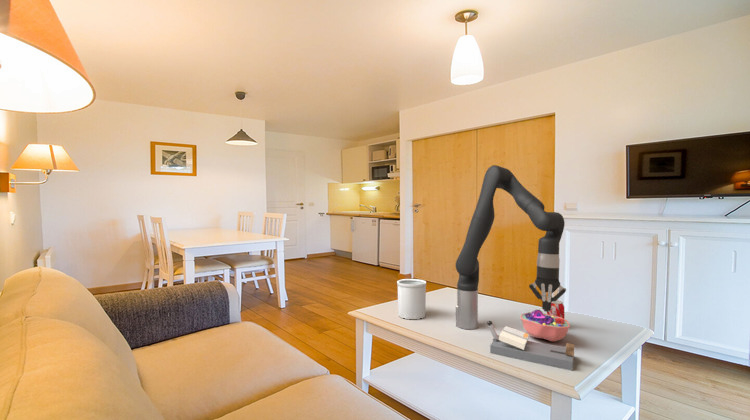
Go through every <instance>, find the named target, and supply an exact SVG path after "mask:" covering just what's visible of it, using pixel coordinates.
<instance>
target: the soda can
mask: <svg viewBox="0 0 750 420" xmlns="http://www.w3.org/2000/svg"><path fill="white" fill-rule="evenodd" d="M546 314H549V315H553V316H559V317H561V318H563V319H565V317H566V316H565V305H564V302H563V301H562V300H559V299H557V300H556V301H552V302H551V310H550V311H549V312H546Z"/></svg>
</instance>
